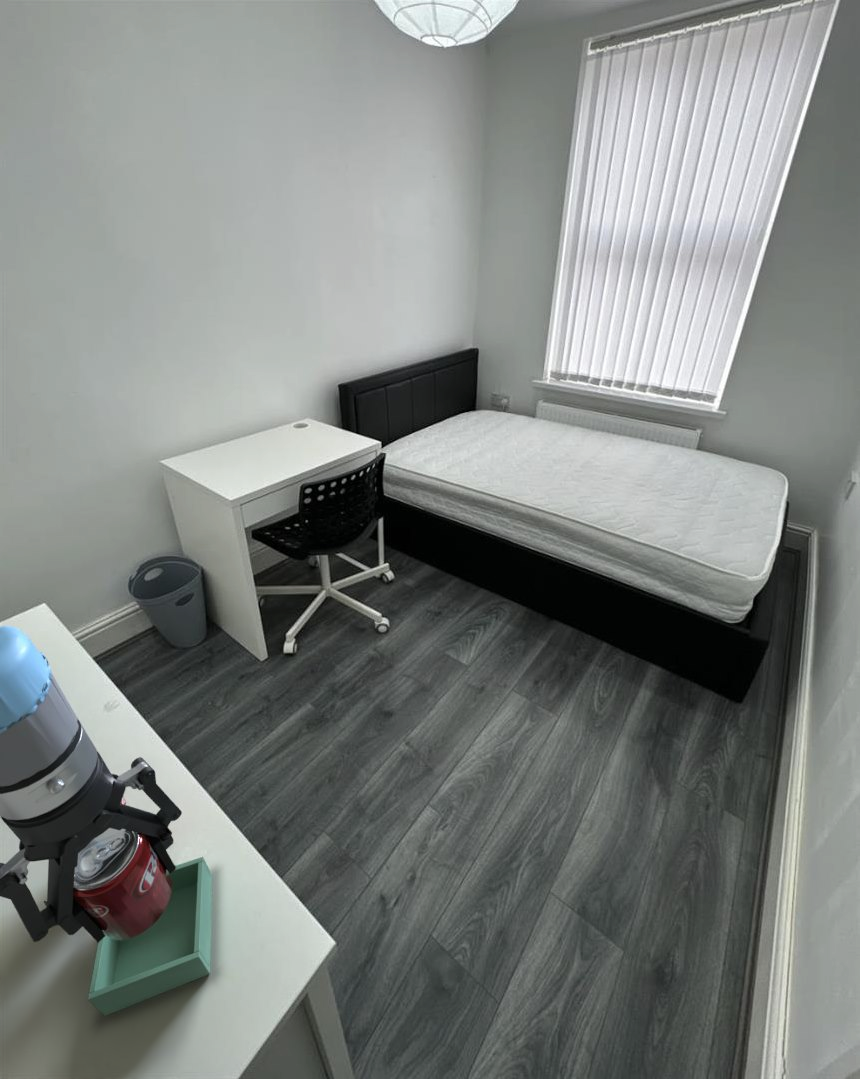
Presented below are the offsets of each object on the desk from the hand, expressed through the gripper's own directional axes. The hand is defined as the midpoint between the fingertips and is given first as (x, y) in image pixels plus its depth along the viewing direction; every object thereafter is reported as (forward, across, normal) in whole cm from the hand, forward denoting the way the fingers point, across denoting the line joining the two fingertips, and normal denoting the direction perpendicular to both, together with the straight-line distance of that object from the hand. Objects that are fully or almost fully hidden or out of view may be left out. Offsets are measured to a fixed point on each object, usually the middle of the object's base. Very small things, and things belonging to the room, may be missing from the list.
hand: (133, 895), depth 54 cm
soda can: (+2, 0, 0) cm, 2 cm away
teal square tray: (+13, 0, 0) cm, 13 cm away
